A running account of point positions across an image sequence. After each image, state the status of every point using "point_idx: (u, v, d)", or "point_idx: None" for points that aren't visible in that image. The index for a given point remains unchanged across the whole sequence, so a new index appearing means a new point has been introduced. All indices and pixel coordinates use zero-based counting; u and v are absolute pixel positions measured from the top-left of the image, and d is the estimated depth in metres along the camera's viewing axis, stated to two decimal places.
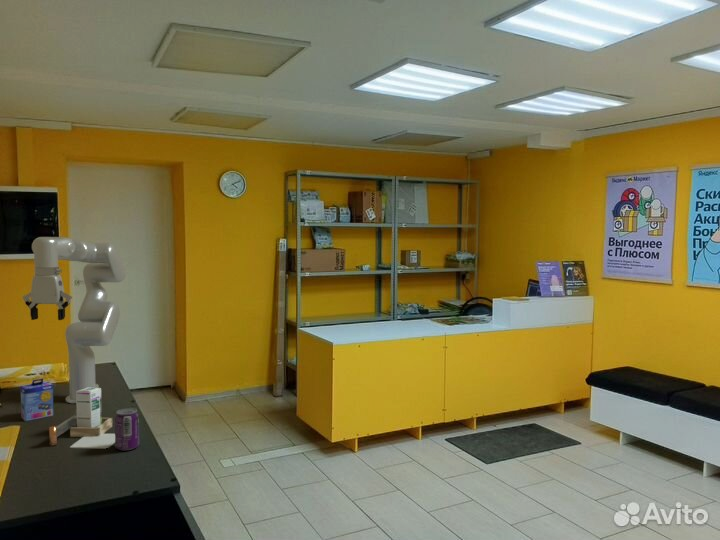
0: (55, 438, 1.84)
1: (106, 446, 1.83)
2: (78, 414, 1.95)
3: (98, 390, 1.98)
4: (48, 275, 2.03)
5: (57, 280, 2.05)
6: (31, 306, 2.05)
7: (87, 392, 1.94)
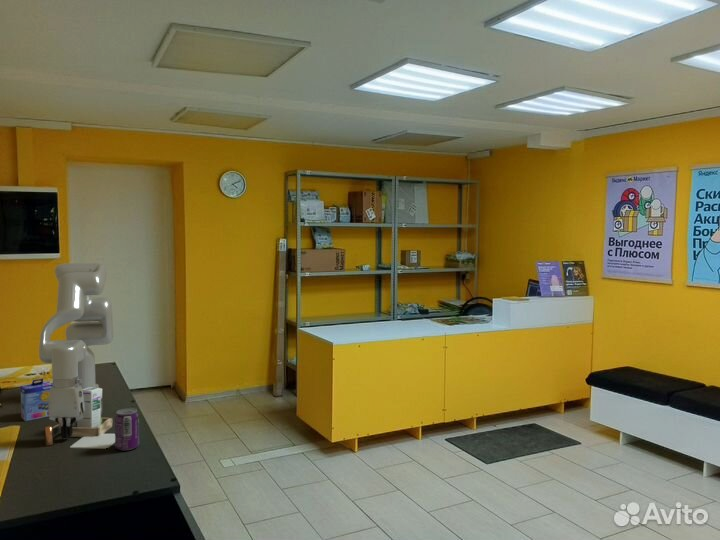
0: (51, 438, 1.84)
1: (106, 446, 1.83)
2: None
3: (100, 390, 1.98)
4: (68, 387, 1.85)
5: (77, 391, 1.87)
6: (61, 423, 1.87)
7: (88, 392, 1.94)
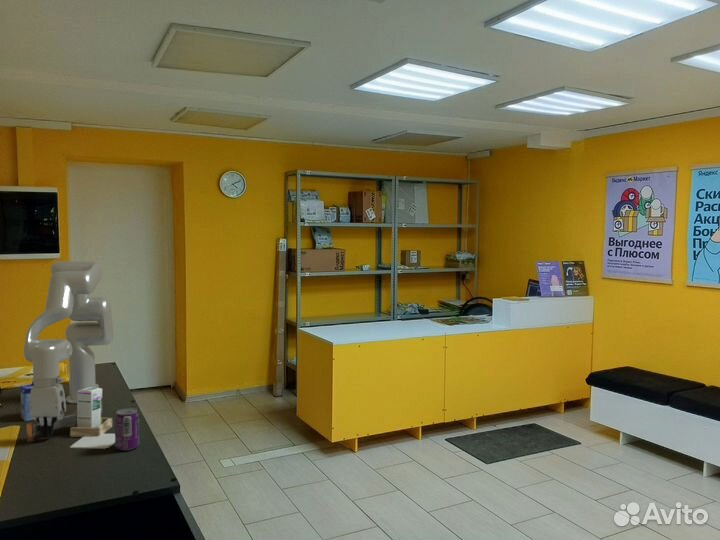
0: (31, 435, 1.86)
1: (106, 446, 1.83)
2: (79, 414, 1.95)
3: (100, 390, 1.98)
4: (48, 386, 1.85)
5: (58, 391, 1.87)
6: (42, 422, 1.87)
7: (88, 392, 1.94)
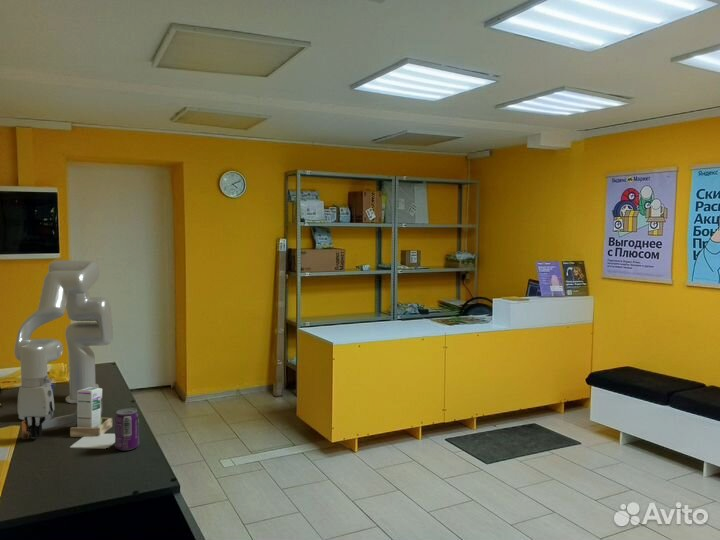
0: (25, 433, 1.89)
1: (106, 446, 1.83)
2: (79, 414, 1.95)
3: (100, 390, 1.98)
4: (36, 386, 1.85)
5: (46, 391, 1.87)
6: (30, 422, 1.88)
7: (88, 392, 1.94)
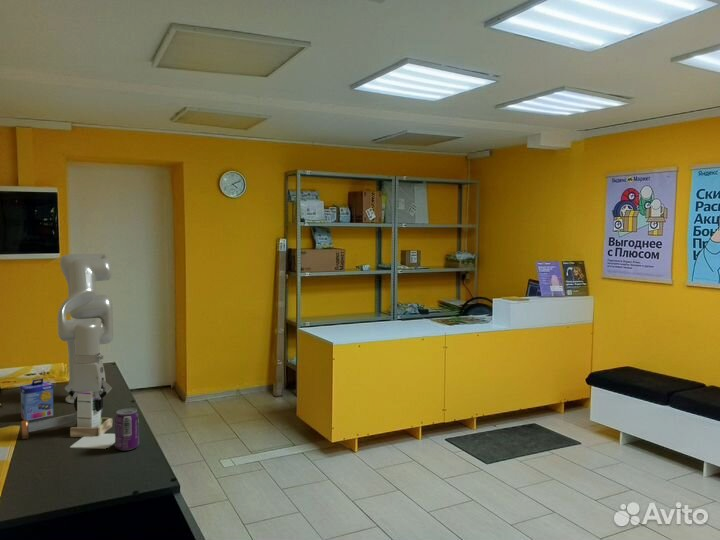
0: (25, 432, 1.89)
1: (106, 446, 1.83)
2: (79, 414, 1.95)
3: None
4: (90, 363, 1.93)
5: (99, 367, 1.95)
6: (75, 396, 1.95)
7: (88, 392, 1.94)
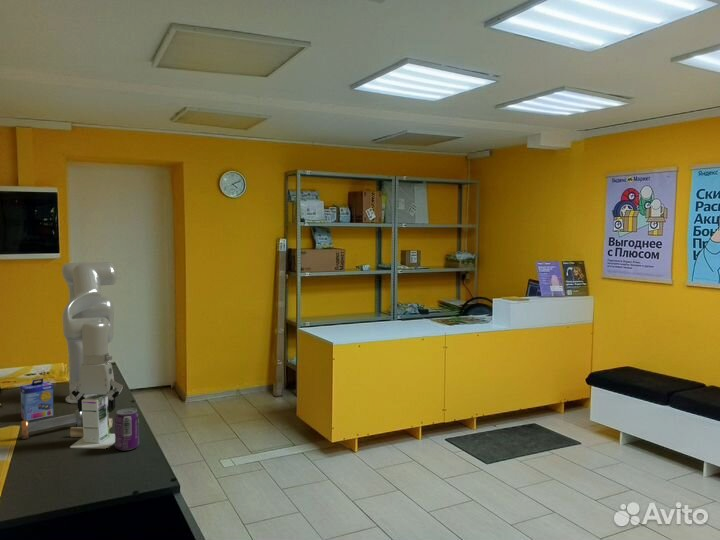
0: (25, 432, 1.89)
1: (106, 446, 1.83)
2: (84, 423, 1.85)
3: (105, 398, 1.88)
4: (98, 364, 1.83)
5: (107, 368, 1.85)
6: (78, 397, 1.86)
7: (93, 401, 1.84)
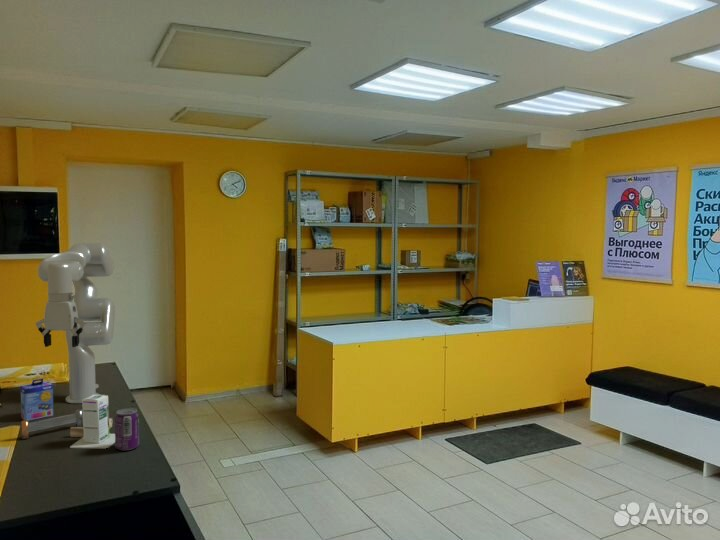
0: (25, 432, 1.89)
1: (106, 446, 1.83)
2: (85, 423, 1.86)
3: (105, 398, 1.89)
4: (62, 301, 1.97)
5: (71, 306, 1.99)
6: (44, 333, 2.00)
7: (94, 401, 1.84)
